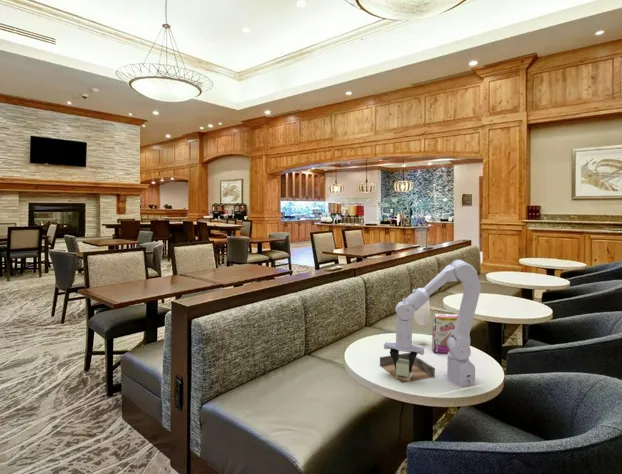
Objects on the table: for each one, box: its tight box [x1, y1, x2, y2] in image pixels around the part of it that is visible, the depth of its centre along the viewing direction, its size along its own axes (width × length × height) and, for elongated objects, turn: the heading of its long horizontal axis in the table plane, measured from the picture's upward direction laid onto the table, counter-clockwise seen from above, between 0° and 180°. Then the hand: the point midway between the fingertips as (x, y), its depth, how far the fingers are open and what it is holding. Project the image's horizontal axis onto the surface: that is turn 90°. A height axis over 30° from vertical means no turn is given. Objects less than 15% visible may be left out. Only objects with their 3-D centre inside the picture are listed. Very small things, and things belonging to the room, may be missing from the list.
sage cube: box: [396, 358, 411, 377], centre depth 141 cm, size 4×4×4 cm
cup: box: [413, 300, 431, 327], centre depth 174 cm, size 7×7×21 cm
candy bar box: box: [431, 313, 459, 354], centre depth 166 cm, size 11×5×16 cm, turn 84°
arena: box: [379, 352, 436, 384], centre depth 146 cm, size 16×14×4 cm
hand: (403, 370), depth 142 cm, fingers closed on sage cube, 4 cm apart
